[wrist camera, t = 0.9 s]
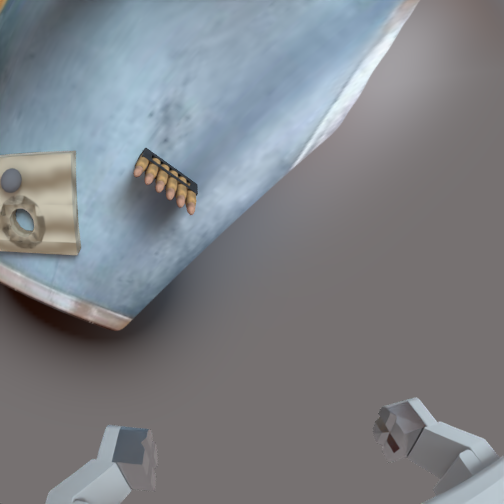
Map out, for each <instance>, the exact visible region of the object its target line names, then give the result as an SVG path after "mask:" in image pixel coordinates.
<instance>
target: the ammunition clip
mask: <svg viewBox="0 0 504 504" xmlns="http://www.w3.org/2000/svg"><path fill="white" fill-rule="evenodd" d="M147 166H148V168H147ZM146 168H147V169H146ZM144 171H145V184H146V185H149V184H151V183H152V182H153V180H154V178H155V179H156V181H155V183H156V186H155V188H156V191H157V192H158V193H160V192H161V191H162V190H163V189H164V186H166V187H165V190H166V197H167V199H168V200H172V199H173V197H174V195H175V197H176V202H177V205H178V207H180V208H182V207H183V206H184V204H186V207H187V211H188V213H189V214H190V215H193V214H194V212H195V205H196V196H197V194H198V192H197V184H196V183H195V182H193V181H192V180H190V179H189V178H188V177H186V176H185V175H183V174H182V173H181V172H179V171H178V170H177V169H175V168H174V167H172V166H171V165H170V164H168V163H167V162H165V161H164V160H163V159H161V158H160V157H158V156H157V155H156V154H154V153H153V152H151V151H150V150H149V149H147V148H145V149H144V151H143V152H142V153H141V155H140V156H139V158H138V161H137V163H136V165H135V169H134V173H133V174H134V176H135V177H139V176H140V175H141V174H142V173H143V172H144ZM157 172H158V173H157ZM156 175H157V176H156Z"/></svg>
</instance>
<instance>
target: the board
mask: <svg viewBox="0 0 504 504" xmlns="http://www.w3.org/2000/svg"><path fill="white" fill-rule="evenodd" d="M10 168H14V169H17V170H18V171H19V172H20V174H21V177H22V182H21V185H20V187H19V189H18V190H17V191H15V192H13V193H7V192H5V191H4V190H3V189H2V187H1V177H2V175H3V173H4V172H5V171H6V170H8V169H10ZM17 209H24V210H26V211H27V212H29V213H30V215H31V216H32V218H33V221H34V230H33V231H26V230H24V229H23V228H21V227H20V225H19V224H18V222H17V220H16V214H15V213H16V210H17ZM80 249H81V244H80V234H79V223H78V209H77V191H76V151H54V152H33V153H18V154H5V155H0V251H8V252H26V253H44V254H63V255H78V253H79V251H80Z"/></svg>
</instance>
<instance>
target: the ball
mask: <svg viewBox="0 0 504 504" xmlns="http://www.w3.org/2000/svg"><path fill="white" fill-rule="evenodd" d="M21 182H22V177H21V174H20V172H19V171H18V170H17V169H14V168H10V169H8V170H6V171H5V172H4V173H3V175H2V177H1V187H2V189H3V190H4V191H5V192H7V193H13V192H15V191H17V190H18V189H19V187H20V185H21Z"/></svg>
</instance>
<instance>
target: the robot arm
mask: <svg viewBox="0 0 504 504" xmlns="http://www.w3.org/2000/svg"><path fill="white" fill-rule="evenodd" d="M378 414H379V415H380V417H379V419H377V420H376V421H375V424H374V427H373V434H374V437H375V440H376V442H377V443H378V444H380V445H382V446H383V448H382V453H383V454H384V456H385V458H386V460H387V462H388V463H391V462H394V461H397V460H400V459H403V458H406V457H407V458H408V459H409V460H410V461H412V462H414V463H415V464H417V465H418V466H420V467H422V468H423V469H425V470H426V471H428V472H430V473H431V474H433V475H435V476H436V477H438V478H440V480H439V482H438V483H437V484H436V485H435V486H434V489H433V491H434V492H435V494H436V496H435V497H433V498H431V499H429V500H427V501H425V502H423V503H421V504H504V455H503V456H502V457H501V458H500V457H499V456H498V455H497V453H495V451H494V450H493V449H492V447H491V446H490V445H489V444H488V443H487V441H486V440H485V439H483V438H480V437H478V436H475V435H473V434H470V433H467V432H465V431H462V430H460V429H457V428H455V427H452V426H450V425H447V424H445V423H443V422H437V421H436V420H435V419H434V418H433V416H432V415H431V414H430V412H429V411H428V410H427V409H426V408H425V406H424V405H423V404H422V402H421V401H420V400H419V399H418V398H416V397H415V398H411V399H408V400H405V401H401V402H397V403H394V404H390V405H387V406H383V407H382V408H381V409H380V411H379V413H378ZM152 438H153V434H152V432H151V429H141V428H132V427H123V426H114V425H108V426H107V427H106V429H105V432H104V435H103V438H102V442H101V445H100V448H99V452H98V456H97V459H92V460H91V461H89V462H88V463H87V464H85V465H84V466H83V467H81V468H80V469H79V470H78V471H76V472H75V473H74V474H72V475H71V476H70V477H68V478H67V479H66V480H64V481H63V482H62V483H60V484H59V485H58V486H56V487H55V488H54V489H52V490H51V491H49V494H48V497H47V500H46V503H45V504H120V503H121V502H122V501H123V499H124V498H125V497H126V496H127V495H128V494H129V493H130V492H131V489H133V490H144V491H155V484H156V475H155V472H154V469H155V468H156V467H157V465H158V452H157V447H156V443H155V442H153V441H152ZM0 504H1V503H0Z"/></svg>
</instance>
